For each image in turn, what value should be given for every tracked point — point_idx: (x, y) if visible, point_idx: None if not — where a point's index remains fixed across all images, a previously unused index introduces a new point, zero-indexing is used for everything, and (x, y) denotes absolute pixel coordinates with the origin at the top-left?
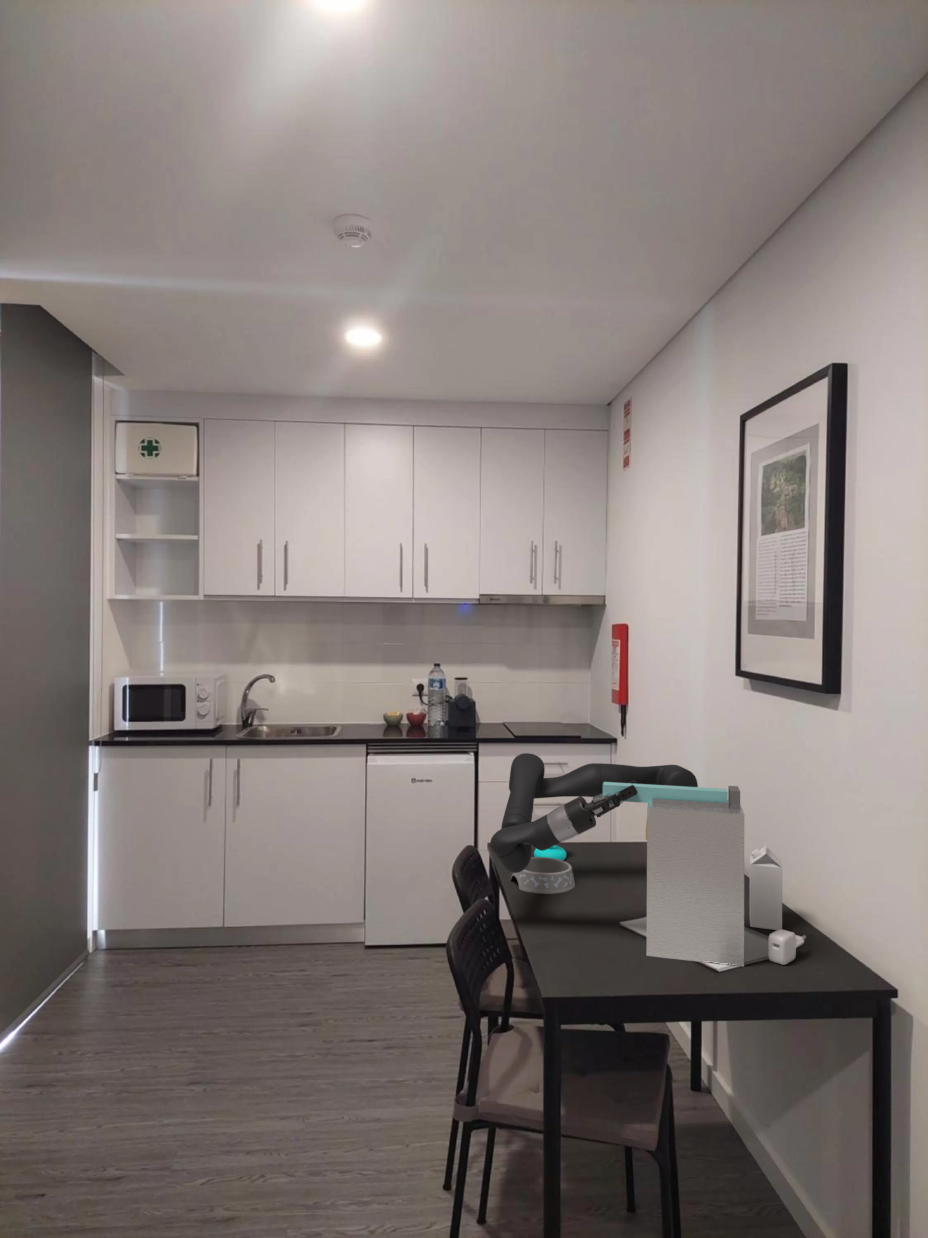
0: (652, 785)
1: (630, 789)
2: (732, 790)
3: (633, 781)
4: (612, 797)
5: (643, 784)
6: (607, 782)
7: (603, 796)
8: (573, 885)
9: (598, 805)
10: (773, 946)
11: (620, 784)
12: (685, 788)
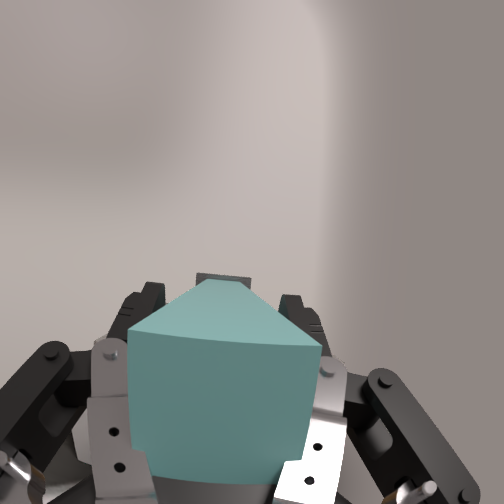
0: (211, 290)
1: (315, 316)
2: (245, 277)
3: (163, 284)
4: (401, 383)
5: (196, 292)
6: (163, 323)
7: (336, 445)
8: None
9: (460, 465)
10: None
11: (235, 310)
12: (231, 285)
